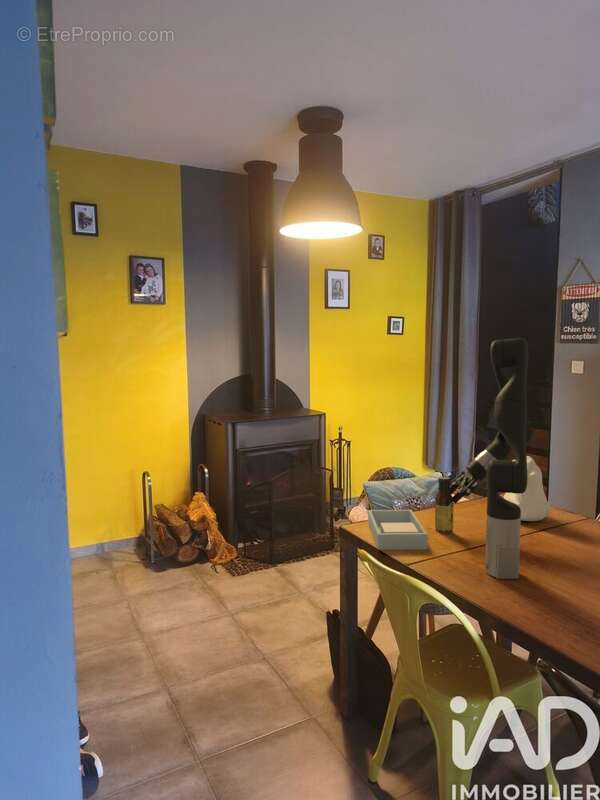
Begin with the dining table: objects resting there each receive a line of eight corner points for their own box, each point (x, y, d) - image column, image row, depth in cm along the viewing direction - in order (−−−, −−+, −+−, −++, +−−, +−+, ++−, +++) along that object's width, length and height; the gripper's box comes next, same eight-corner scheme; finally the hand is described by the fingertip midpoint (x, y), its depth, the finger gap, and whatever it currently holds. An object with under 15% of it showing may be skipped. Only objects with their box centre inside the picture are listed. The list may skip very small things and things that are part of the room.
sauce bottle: (455, 535, 187) (456, 480, 185) (437, 536, 187) (438, 480, 185) (450, 529, 193) (451, 475, 191) (433, 529, 193) (433, 475, 191)
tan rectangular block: (418, 546, 175) (418, 531, 174) (384, 546, 175) (384, 531, 174) (412, 536, 183) (412, 522, 183) (380, 536, 184) (380, 522, 183)
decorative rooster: (553, 528, 194) (556, 460, 191) (507, 525, 197) (509, 459, 195) (539, 507, 218) (541, 447, 216) (498, 505, 222) (500, 446, 219)
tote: (427, 552, 172) (427, 534, 172) (377, 552, 172) (377, 534, 172) (411, 525, 198) (411, 509, 197) (368, 525, 198) (368, 510, 198)
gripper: (469, 454, 194) (437, 485, 196) (482, 462, 180) (447, 496, 181) (483, 468, 195) (451, 499, 196) (497, 478, 181) (462, 511, 182)
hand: (449, 497), depth 189 cm, fingers open, 8 cm apart
